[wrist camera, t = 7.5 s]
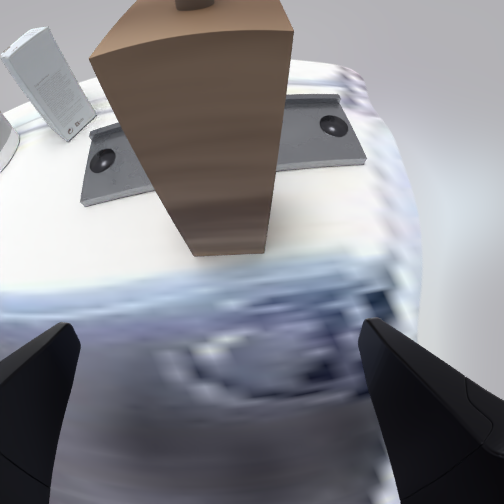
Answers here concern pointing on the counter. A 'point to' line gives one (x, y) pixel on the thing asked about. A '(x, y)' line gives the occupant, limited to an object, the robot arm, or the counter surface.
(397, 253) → the counter surface
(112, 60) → the post
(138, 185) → the flange strip
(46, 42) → the skincare box
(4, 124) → the spray bottle
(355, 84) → the counter surface
